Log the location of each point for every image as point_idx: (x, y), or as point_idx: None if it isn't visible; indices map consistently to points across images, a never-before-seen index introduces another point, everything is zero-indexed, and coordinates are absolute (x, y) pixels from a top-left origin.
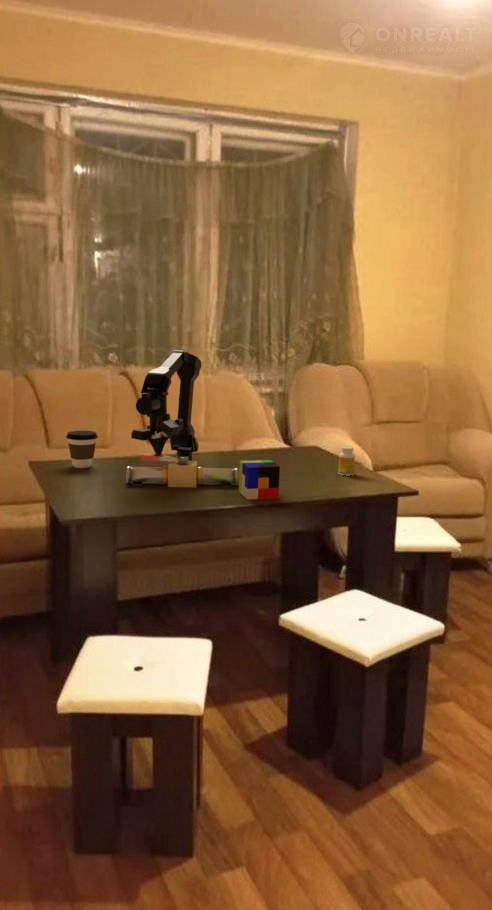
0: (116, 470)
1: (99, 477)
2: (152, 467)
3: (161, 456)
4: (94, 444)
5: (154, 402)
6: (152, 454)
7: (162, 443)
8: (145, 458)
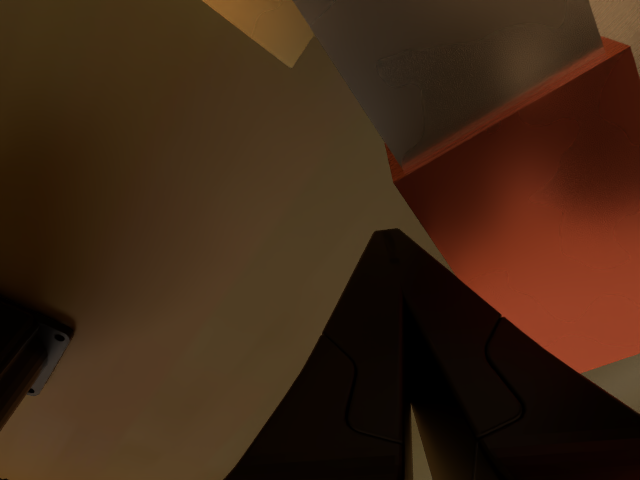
0: (414, 440)
1: (623, 381)
2: (632, 42)
3: (523, 71)
4: None
5: None
6: (550, 277)
7: (389, 421)
8: None
